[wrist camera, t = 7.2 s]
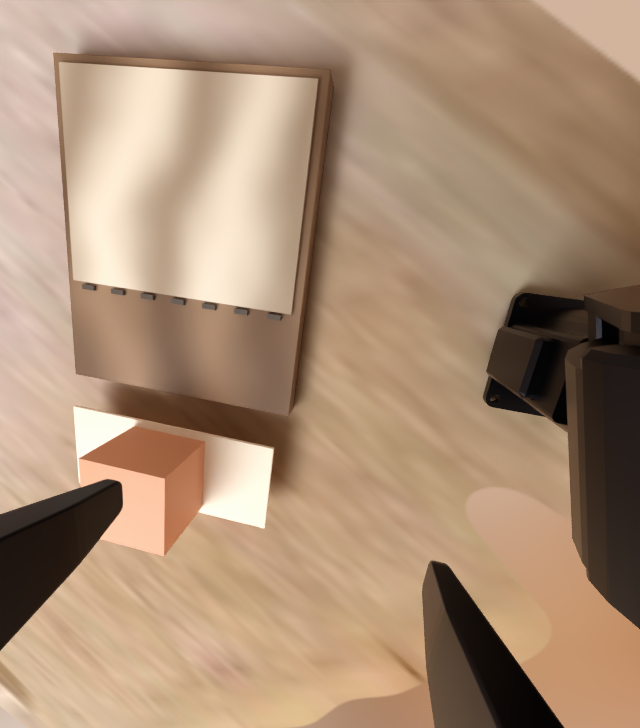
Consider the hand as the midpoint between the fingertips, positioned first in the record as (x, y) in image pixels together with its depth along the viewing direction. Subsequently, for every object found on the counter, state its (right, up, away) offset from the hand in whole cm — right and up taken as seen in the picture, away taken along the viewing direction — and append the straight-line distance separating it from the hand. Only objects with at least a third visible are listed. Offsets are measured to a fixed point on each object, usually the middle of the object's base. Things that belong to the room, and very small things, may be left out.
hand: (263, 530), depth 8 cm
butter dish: (-9, -2, +12) cm, 15 cm away
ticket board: (-6, +12, +10) cm, 17 cm away
